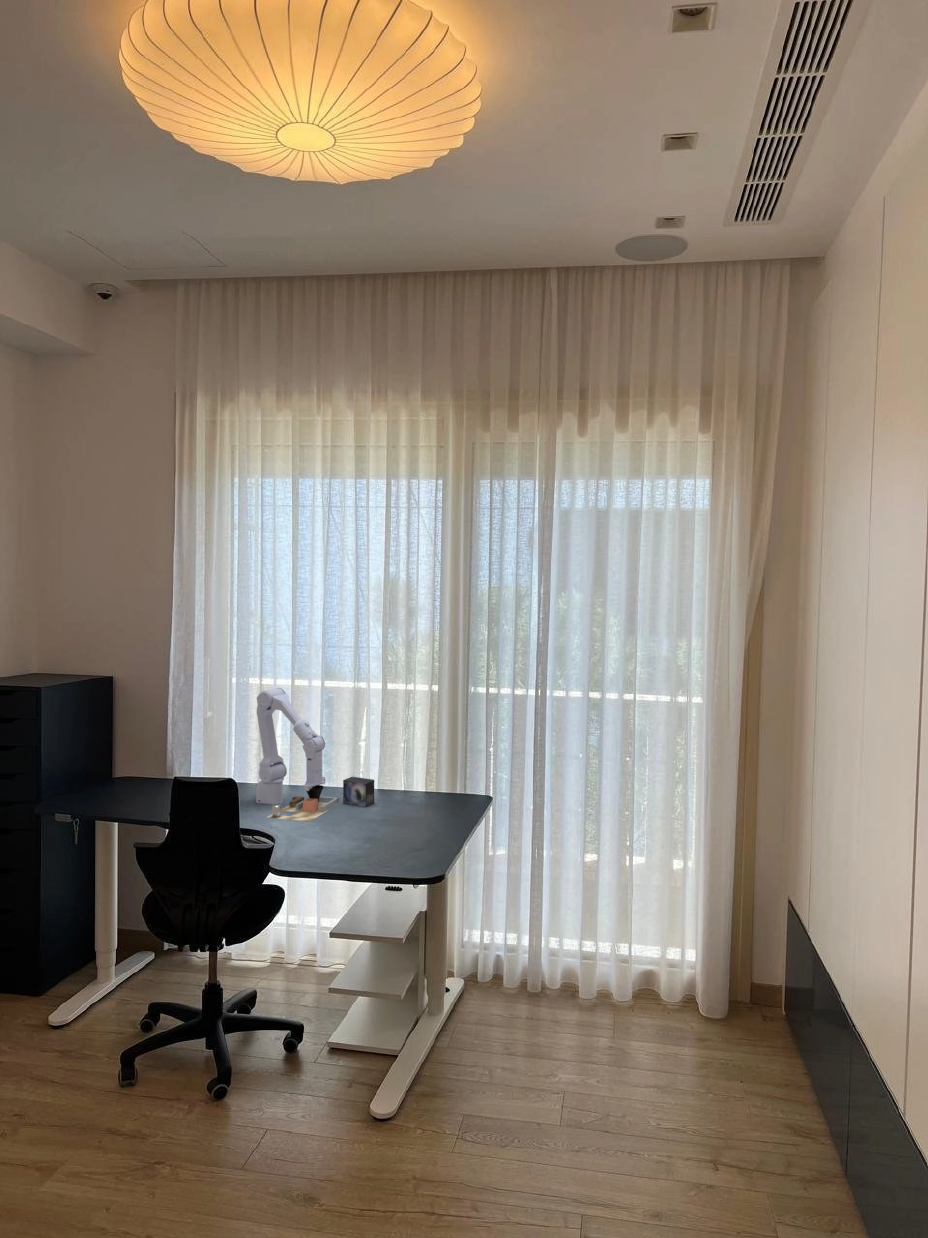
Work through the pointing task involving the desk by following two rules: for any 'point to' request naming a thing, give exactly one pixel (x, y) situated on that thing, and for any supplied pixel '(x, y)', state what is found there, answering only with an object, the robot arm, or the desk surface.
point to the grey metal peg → (276, 811)
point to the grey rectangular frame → (328, 800)
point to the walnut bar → (296, 801)
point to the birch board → (302, 813)
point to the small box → (358, 791)
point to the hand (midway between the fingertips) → (314, 805)
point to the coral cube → (310, 805)
